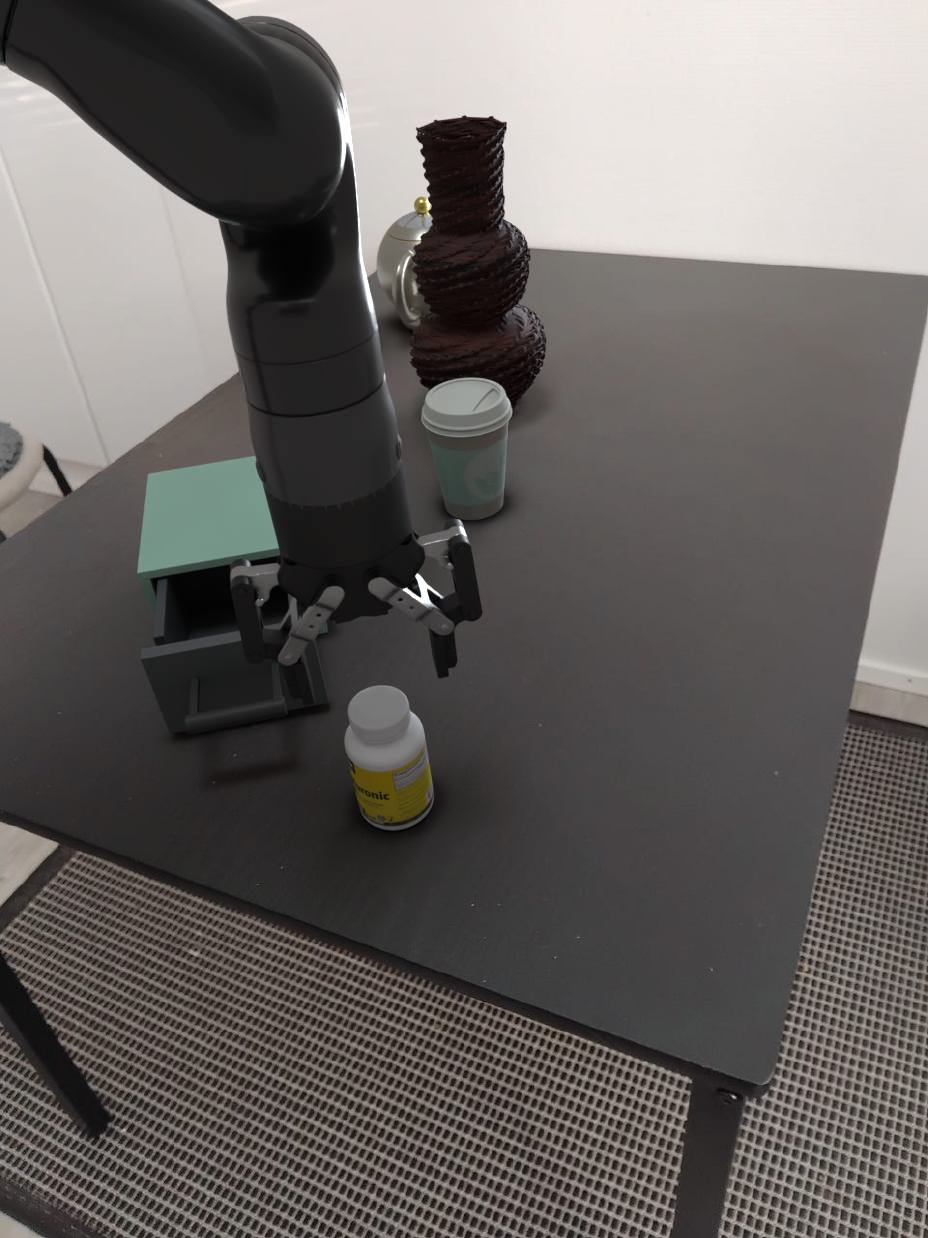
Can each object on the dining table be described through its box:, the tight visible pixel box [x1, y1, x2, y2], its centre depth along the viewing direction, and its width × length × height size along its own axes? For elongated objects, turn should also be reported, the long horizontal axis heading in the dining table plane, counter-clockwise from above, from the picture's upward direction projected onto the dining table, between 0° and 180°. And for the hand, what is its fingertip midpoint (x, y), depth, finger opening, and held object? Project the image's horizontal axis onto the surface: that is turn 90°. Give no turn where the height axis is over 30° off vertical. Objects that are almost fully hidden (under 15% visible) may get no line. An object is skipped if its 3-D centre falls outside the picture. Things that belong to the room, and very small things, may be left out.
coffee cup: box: [420, 378, 513, 521], centre depth 94 cm, size 8×8×12 cm
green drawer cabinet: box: [136, 455, 329, 635], centre depth 87 cm, size 16×14×10 cm
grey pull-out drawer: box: [140, 556, 330, 735], centre depth 77 cm, size 20×12×8 cm, turn 11°
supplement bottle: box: [343, 684, 435, 831], centre depth 66 cm, size 5×5×10 cm
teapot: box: [375, 196, 440, 331], centre depth 128 cm, size 18×14×16 cm
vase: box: [408, 114, 547, 413], centre depth 104 cm, size 15×15×30 cm
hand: (375, 682), depth 62 cm, fingers open, 8 cm apart
